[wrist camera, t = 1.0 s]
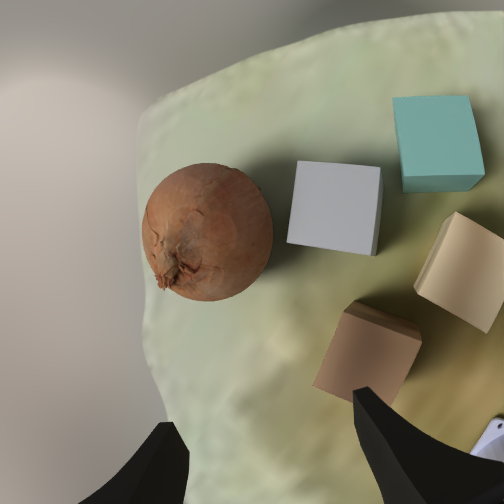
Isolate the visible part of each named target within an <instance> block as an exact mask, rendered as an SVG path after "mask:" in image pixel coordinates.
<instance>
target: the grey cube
mask: <svg viewBox="0 0 504 504" xmlns="http://www.w3.org/2000/svg"><path fill="white" fill-rule="evenodd" d="M383 192H384V183H383V178H382V173H381V168H380V167H372V166H363V165H352V164H340V163H328V162H313V161H298V162H297V169H296V177H295V185H294V193H293V200H292V207H291V215H290V222H289V229H288V236H287V243H292V244H299V245H306V246H312V247H319V248H325V249H332V250H338V251H345V252H351V253H357V254H364V255H370V256H376V251H377V244H378V237H379V229H380V221H381V212H382V202H383Z"/></svg>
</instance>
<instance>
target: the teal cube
mask: <svg viewBox="0 0 504 504" xmlns="http://www.w3.org/2000/svg"><path fill="white" fill-rule="evenodd" d="M392 99H393V109H394V121H395V131H396V137H397V144H398V151H399V159H400V168H401V177H402V187H403V193H424V192H464V191H469V190H470V189H471V188H472V187H473V186H474V185H475V184H476V183H477V182H478V181H479V180H480V179H481V178H482V177H483V176H484V175H485V171H484V165H483V159H482V153H481V148H480V143H479V138H478V133H477V129H476V124H475V120H474V116H473V112H472V108H471V104H470V101H469V97H468V96H414V97H396V98H392Z"/></svg>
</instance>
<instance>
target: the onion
mask: <svg viewBox="0 0 504 504" xmlns="http://www.w3.org/2000/svg"><path fill="white" fill-rule="evenodd" d="M273 235H274V232H273V221H272V216H271V212H270V209H269V206H268V204H267V202H266V200H265V198H264V196H263V195H262V193H261V191H260V188H259V187H257V186H256V185H255V183H254V182H253V181H252V180H251V179H250V178H249V177H248V176H247V175H245V174H244V173H243V172H241V171H239V170H238V169H236V168H229V167H228V166H224V165H220V164H216V163H200V164H193V165H190V166H187V167H184V168H182V169H179V170H177V171H176V172H174V173H172V174H170V175H169V176H168V177H166V178H165V179H164V180H163V181H162V182H161V183H160V184H159V185H158V186H157V187H156V189H155V190H154V191H153V193H152V195H151V196H150V199H149V200H148V203H147V206H146V210H145V214H144V218H143V222H142V239H143V247H144V251H145V254H146V257H147V260H148V262H149V264H150V266H151V268H152V270H153V272H154V273H155V275H154V276H155V277H156V280H158V281H159V282H158V286H159V288H160V289H161V288H162V289H163V290H165V288H167V287H168V288H169V289H171V290H172V291H174V292H176V293H177V294H179V295H181V296H183V297H185V298H188V299H192V300H197V301H218V300H222V299H226V298H229V297H232V296H234V295H236V294H238V293H241V292H242V291H244V290H245V289H246V288H247V287H249V286H250V285H251V284H252V283H253V282H254V281H255V280H256V279H257V278H258V277H259V275H260V274H261V273H262V271H263V270H264V268H265V266H266V264H267V262H268V260H269V257H270V254H271V250H272V245H273Z"/></svg>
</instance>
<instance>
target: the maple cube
mask: <svg viewBox="0 0 504 504" xmlns="http://www.w3.org/2000/svg"><path fill="white" fill-rule="evenodd" d="M413 287H414V289H415V290H416V292H417V293H418V294H419V295H421V296H422V297H424V298H426V299H428V300H429V301H431V302H433V303H435V304H437V305H438V306H440V307H442V308H444V309H445V310H447V311H449V312H451V313H452V314H454V315H456V316H458V317H459V318H461V319H463V320H464V321H466V322H468V323H470V324H471V325H473V326H475V327H476V328H478V329H480V330H482V331H483V332H485V333H488V331H489V329H490V327H491V326H492V324H493V322H494V320H495V318H496V316H497V314H498V312H499V310H500V308H501V306H502V304H503V302H504V239H502V238H500V237H499V236H497V235H495V234H494V233H492V232H490V231H489V230H487V229H485V228H484V227H482V226H480V225H479V224H477V223H475V222H473V221H472V220H470V219H468V218H466V217H465V216H463V215H461V214H459V213H457V212H456V211H455V212H454V213H453V214H452V215H450V216H449V217H448V218H447V219H445V220H444V221H443V223H442V225H441V228H440V230H439V232H438V235H437V237H436V239H435V242H434V244H433V246H432V248H431V250H430V253H429V255H428V257H427V259H426V261H425V263H424V265H423V267H422V269H421V272H420V274H419V276H418V278H417V280H416V282H415V284H414V286H413Z"/></svg>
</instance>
